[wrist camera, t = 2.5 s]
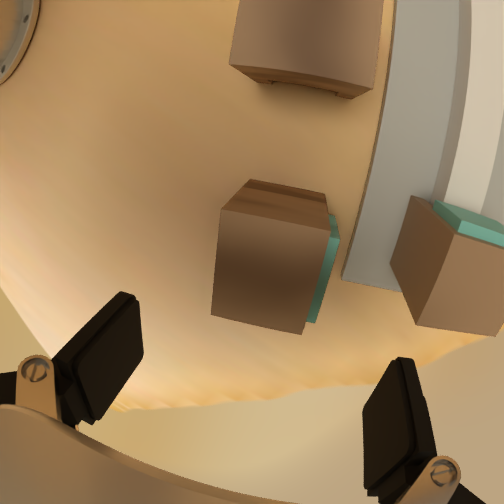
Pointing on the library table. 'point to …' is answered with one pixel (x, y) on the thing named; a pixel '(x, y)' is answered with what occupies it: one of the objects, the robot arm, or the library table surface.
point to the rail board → (439, 169)
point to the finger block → (273, 256)
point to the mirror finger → (309, 43)
